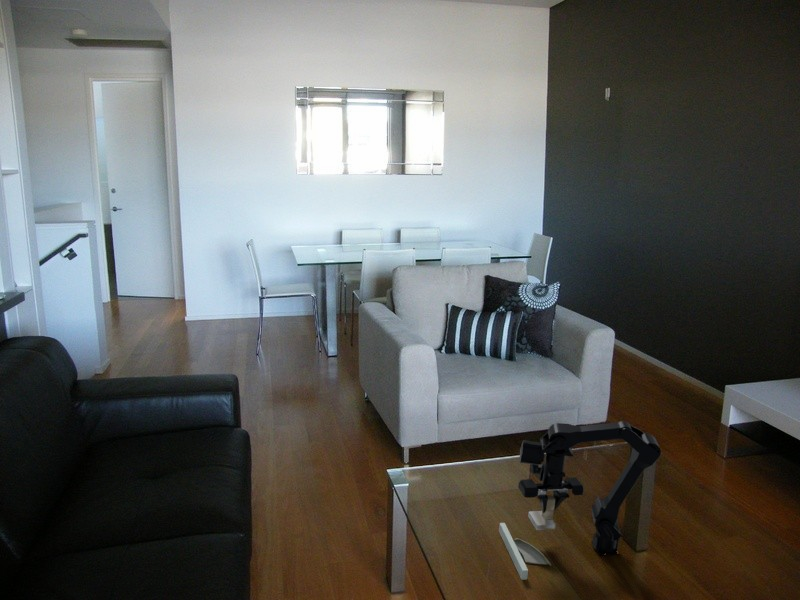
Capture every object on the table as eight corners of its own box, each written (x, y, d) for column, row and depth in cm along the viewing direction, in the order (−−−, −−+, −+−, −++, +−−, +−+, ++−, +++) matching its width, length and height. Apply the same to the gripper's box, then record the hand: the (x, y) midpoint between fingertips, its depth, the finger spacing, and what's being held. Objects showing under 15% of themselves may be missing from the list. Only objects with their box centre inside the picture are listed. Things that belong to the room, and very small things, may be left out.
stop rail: (503, 531, 205) (504, 522, 204) (527, 579, 184) (528, 570, 183) (498, 531, 205) (499, 523, 204) (521, 579, 184) (522, 570, 183)
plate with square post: (545, 515, 203) (549, 490, 200) (554, 528, 196) (558, 503, 194) (528, 516, 202) (531, 491, 199) (536, 530, 195) (540, 504, 193)
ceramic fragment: (552, 567, 190) (553, 555, 189) (541, 574, 187) (542, 562, 186) (514, 543, 200) (515, 532, 199) (503, 550, 197) (504, 538, 196)
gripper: (572, 451, 203) (565, 495, 208) (515, 453, 200) (509, 498, 204) (588, 470, 193) (580, 516, 197) (528, 472, 189) (522, 519, 194)
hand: (547, 511), depth 198 cm, fingers closed on plate with square post, 2 cm apart
